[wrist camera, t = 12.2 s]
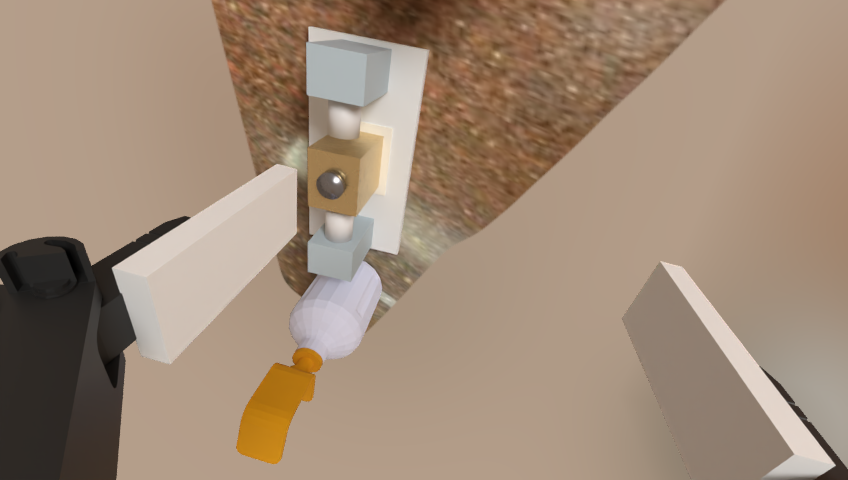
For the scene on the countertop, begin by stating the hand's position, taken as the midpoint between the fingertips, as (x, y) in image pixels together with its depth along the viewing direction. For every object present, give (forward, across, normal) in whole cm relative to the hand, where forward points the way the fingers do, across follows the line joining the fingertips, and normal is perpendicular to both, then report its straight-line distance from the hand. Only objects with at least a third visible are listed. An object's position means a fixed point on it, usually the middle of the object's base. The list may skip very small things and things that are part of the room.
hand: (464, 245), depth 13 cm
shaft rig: (+28, -12, -8) cm, 32 cm away
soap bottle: (+28, -12, -28) cm, 41 cm away
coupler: (+27, -12, -8) cm, 31 cm away
